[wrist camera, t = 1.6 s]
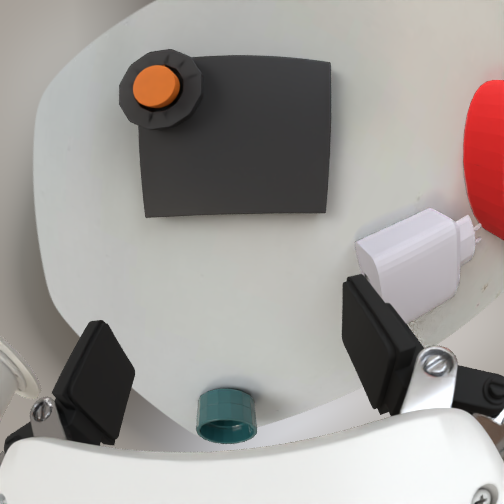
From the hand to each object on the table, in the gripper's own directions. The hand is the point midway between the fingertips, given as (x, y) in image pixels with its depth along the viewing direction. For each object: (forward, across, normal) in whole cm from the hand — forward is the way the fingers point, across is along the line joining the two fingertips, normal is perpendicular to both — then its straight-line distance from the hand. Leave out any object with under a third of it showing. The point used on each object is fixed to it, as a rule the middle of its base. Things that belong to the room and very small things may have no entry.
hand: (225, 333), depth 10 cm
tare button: (+11, +2, -11) cm, 16 cm away
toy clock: (+14, -35, -3) cm, 37 cm away
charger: (+14, -19, +7) cm, 24 cm away
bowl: (+13, +6, +24) cm, 28 cm away
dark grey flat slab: (+13, -2, -7) cm, 15 cm away
